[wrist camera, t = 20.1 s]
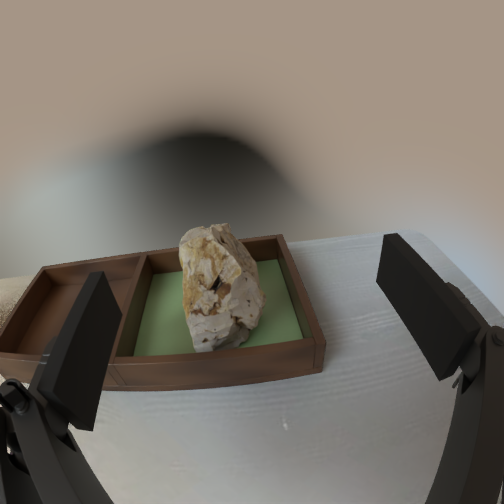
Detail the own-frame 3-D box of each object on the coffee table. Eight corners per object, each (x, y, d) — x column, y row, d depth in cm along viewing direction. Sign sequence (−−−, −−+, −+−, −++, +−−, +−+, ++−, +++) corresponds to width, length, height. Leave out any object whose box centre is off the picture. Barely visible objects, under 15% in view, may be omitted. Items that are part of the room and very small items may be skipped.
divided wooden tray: (283, 261, 36) (282, 233, 34) (321, 372, 22) (326, 342, 20) (52, 288, 34) (42, 266, 32) (5, 379, 20) (-15, 356, 18)
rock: (277, 357, 21) (246, 225, 18) (194, 371, 21) (151, 248, 19) (271, 297, 32) (250, 209, 30) (214, 308, 33) (190, 223, 31)
